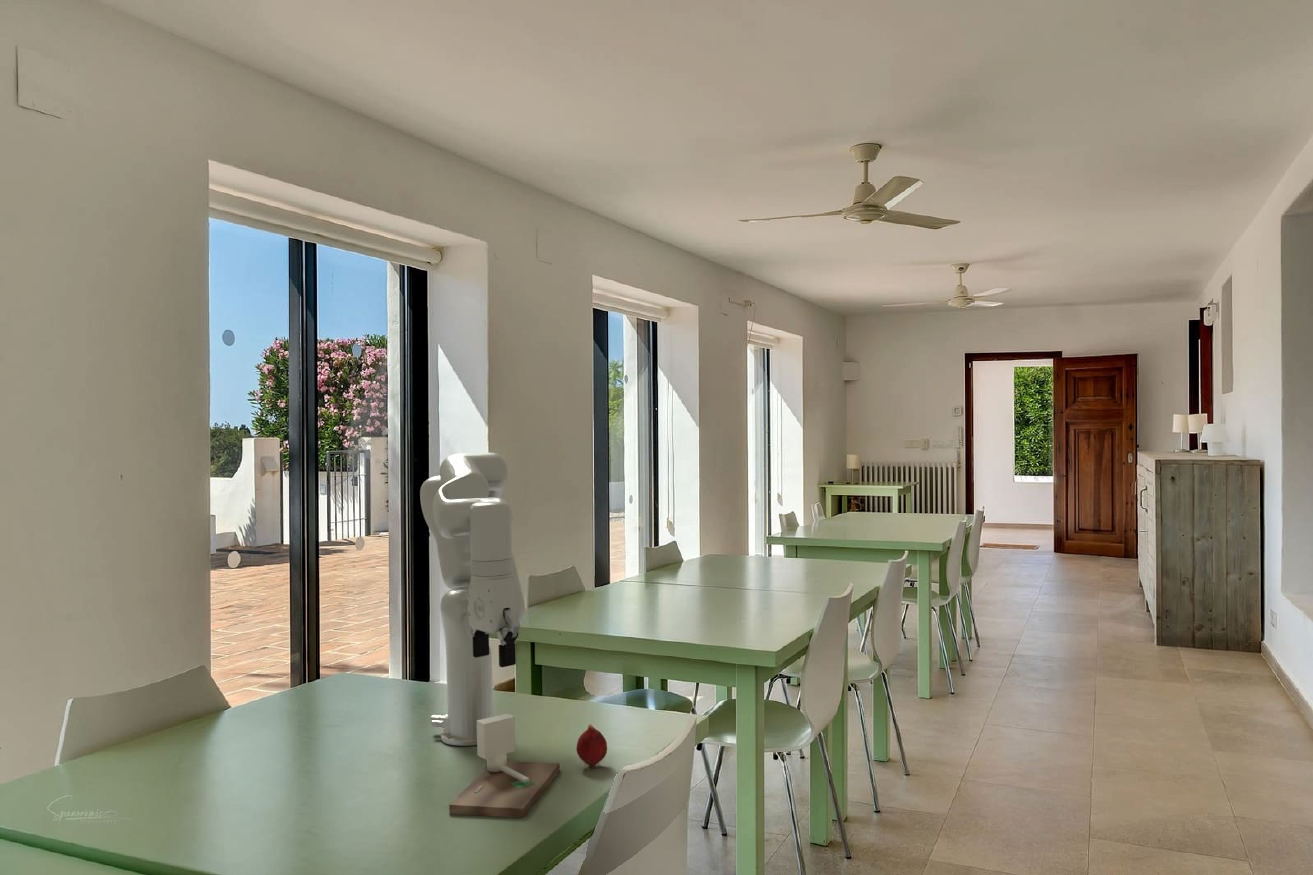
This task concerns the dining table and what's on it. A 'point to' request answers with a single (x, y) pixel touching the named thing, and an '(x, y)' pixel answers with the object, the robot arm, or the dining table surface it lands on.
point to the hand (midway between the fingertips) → (494, 660)
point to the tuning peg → (497, 743)
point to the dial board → (505, 790)
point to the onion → (591, 746)
